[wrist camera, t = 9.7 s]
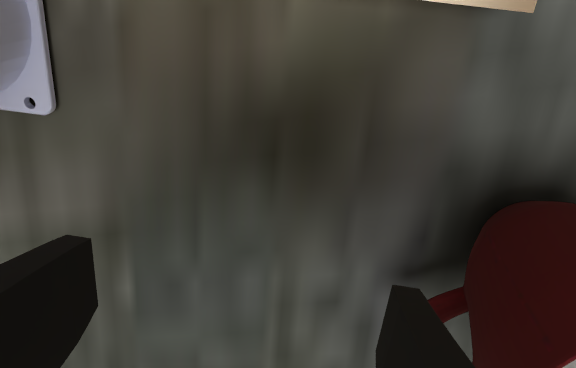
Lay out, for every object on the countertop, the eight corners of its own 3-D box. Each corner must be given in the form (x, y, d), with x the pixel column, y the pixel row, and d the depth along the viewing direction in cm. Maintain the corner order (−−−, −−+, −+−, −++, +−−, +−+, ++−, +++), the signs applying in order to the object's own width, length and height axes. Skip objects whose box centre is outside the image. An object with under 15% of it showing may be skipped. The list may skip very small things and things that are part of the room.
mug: (432, 344, 24) (490, 566, 15) (357, 235, 22) (371, 422, 13) (642, 264, 21) (877, 487, 12) (580, 123, 18) (817, 268, 9)
